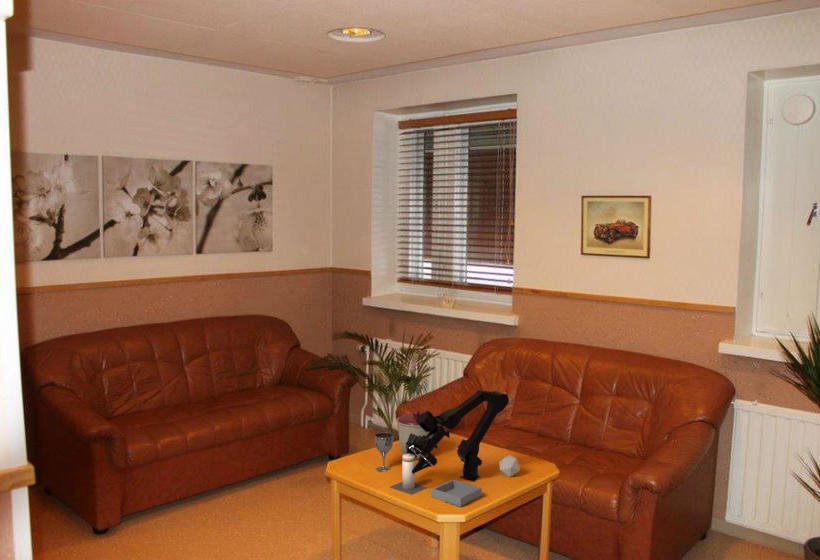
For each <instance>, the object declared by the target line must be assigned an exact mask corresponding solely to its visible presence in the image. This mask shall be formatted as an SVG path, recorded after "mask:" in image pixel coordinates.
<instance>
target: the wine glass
mask: <svg viewBox="0 0 820 560" xmlns="http://www.w3.org/2000/svg"><path fill="white" fill-rule="evenodd" d="M374 443H375V447H376V450H377V451H378V452H379V453H380V454H381V457H382V465H380V466H377V467H376V468H375V470H377V471H376V472H379V473H382V472H387V471H390V470H391V469H392V467H390V466H386V457H387V455H388V453H389V452H390V451H391V450H392V447H393V444H394V433H392V432H386V431H385V432H384V431H383V432H376V433H375V434H374Z"/></svg>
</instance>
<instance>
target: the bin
mask: <svg viewBox="0 0 820 560" xmlns="http://www.w3.org/2000/svg"><path fill="white" fill-rule="evenodd" d="M482 491H483V488H482V487H481V486H476V485H472V484H469V483H466V482H463V481H459V480H456V479H451V480H447V482H446V481H445V482H443V483H442V484H440V485H437V486H435V487H433V488H431V489H430V498H432V499H435V500H438V501H441V502H444V503H446V504H449V505H451V506H455V507H458V508H463V507H465V506H466V505H469V504H470V503H472V502H474V501H476V500H477V499H480V498H481V497H482V495H483V494H482V493H483V492H482Z"/></svg>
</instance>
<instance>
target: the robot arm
mask: <svg viewBox="0 0 820 560" xmlns="http://www.w3.org/2000/svg"><path fill="white" fill-rule="evenodd" d="M484 402H486V409H485V411H484V412H483V414H482V415H481V418H480V419H479V421H478V422H477V424H476V426H475V428H474V429H473V431H472V432H471V434H470V436H469V438H467V439H464V438H462V439H461V441H460V443H459V445H458V446H457V450H456V455H457V456H458V458H459V459H460V461H461V462H463V466H462V467H463V469H462V475H461V476H460V477H459V478H460V479H462V480H466V481H470V482H475V481H477V480H478V479H481V478H482V476H481V475H479V467H480V466H482V463H483V460H482V459H481V458H480V457H479V456H478V455H479V453H480V444H481V443H482V441H483V439H484V437H486V434H487V432H488V431H489V429H490V427H491V425H492V424H493V422H494V421H495V418H496V417H497V415H498V414H500V413H502V412H503V411H504V410H505V409H506V407H507V406H508V404H509V403H510V399H509V396H508V395H507V394H506V393H503V392H501V391H499V390H494V391H490V390H489V391H488V390H484V389H478V390H477V391H476V392H475V393H474V394H473V395H471V396H470V397H468V398H467V399H465V400H464V401H463V402H461V403H460V404H458V406H456V407H454V408H450V409H447V410H445V411H442V412H441V413H440V414H439V415H433V414H432V412H431V411H430V410H426V411H425V412H423V413H420V414H421V415H419V416H418V417H417V420H416V423H417V424H418V425H419V426H420V427H421V428H422V429H423V430H424V431H425V432H429V433H428V434H427V435H426V436H425V435H423V436H420V435H419V436H417V435H414V434H412V433H410V435H409V438H408V441H407V442H406V445H407V446H406V449H407V452H406V454H408V453H409V454H414V455H415V458H416V457H417V455H418V454H421V455H422V456H424V457H422V456H421V455H419V459H418V461H417V462H416V463H415V467H414V468H413V470H412V473H413V474H414V473H415V474H416V473H418V472H420V471H423V470H425V469H427V468H429V467H430V468H431V467H435V466H436V465H437V464H438V459H437V458H436V456H434V454H433V453H432V451H433V450H435V449H438V448H439V447H438V444H439V443H440V442H441V441H442V440H443V438H444V437H447V438H448V439H449V438H451V437H450V432H451V431H450V430H453V429H455V428H456V427H457V426H458V425H459V424H460V423H461V421H462V419H463V418H464V417H465V416H466V415H468V414H469V413H471V412H472V411H473V410H474V409H476V408H478V407H479V406H480V405H481V404H483V403H484ZM445 428H446V429H445ZM448 429H449V430H448ZM416 454H417V455H416Z"/></svg>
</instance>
